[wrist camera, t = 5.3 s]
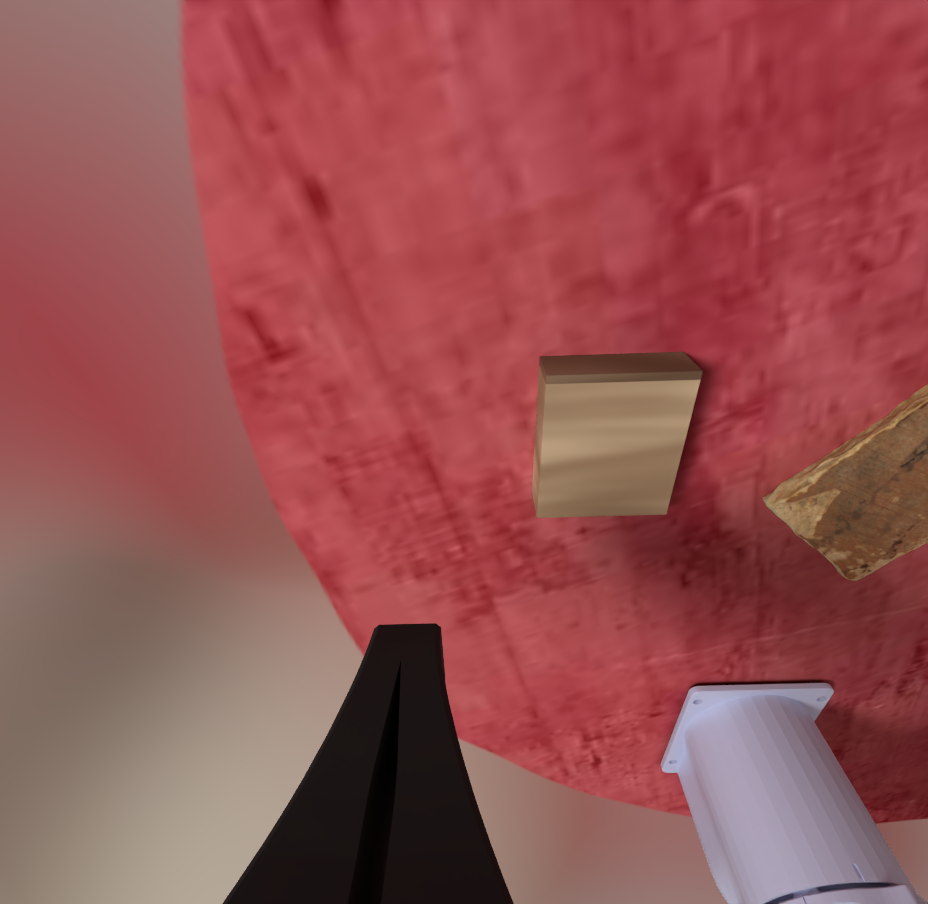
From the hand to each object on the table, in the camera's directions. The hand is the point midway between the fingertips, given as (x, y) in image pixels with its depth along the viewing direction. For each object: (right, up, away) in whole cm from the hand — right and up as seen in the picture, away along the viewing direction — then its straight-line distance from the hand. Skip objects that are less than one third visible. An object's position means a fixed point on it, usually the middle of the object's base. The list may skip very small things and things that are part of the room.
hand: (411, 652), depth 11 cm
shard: (+17, +5, +9) cm, 20 cm away
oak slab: (+7, +2, +9) cm, 11 cm away
